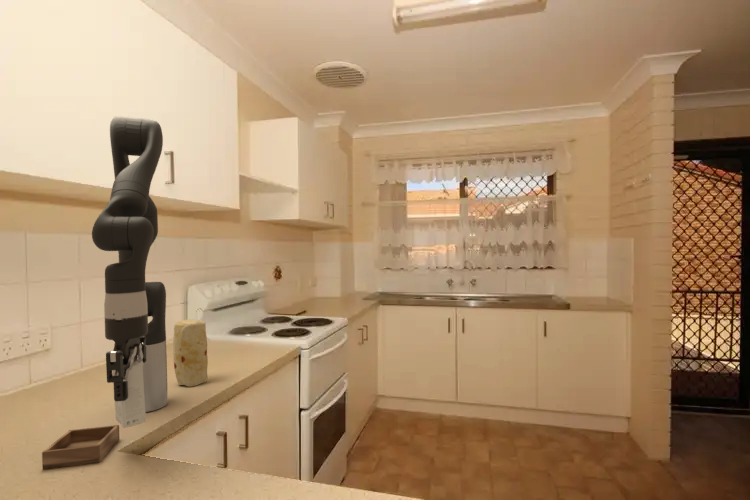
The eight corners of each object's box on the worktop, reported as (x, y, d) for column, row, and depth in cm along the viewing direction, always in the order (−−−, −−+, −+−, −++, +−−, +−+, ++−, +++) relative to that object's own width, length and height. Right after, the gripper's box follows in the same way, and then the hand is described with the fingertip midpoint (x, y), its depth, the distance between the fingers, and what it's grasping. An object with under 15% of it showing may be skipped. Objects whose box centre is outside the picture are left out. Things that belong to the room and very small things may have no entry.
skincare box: (147, 422, 81) (145, 363, 81) (121, 429, 78) (120, 369, 78) (137, 413, 86) (135, 357, 85) (113, 420, 82) (111, 362, 82)
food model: (209, 379, 127) (208, 317, 127) (206, 386, 121) (204, 320, 121) (176, 382, 125) (175, 319, 125) (171, 389, 119) (169, 323, 119)
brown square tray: (69, 445, 85) (69, 430, 85) (119, 439, 87) (119, 424, 87) (42, 469, 76) (42, 452, 76) (98, 462, 78) (98, 445, 78)
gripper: (121, 308, 88) (123, 382, 88) (88, 321, 74) (91, 409, 74) (158, 307, 89) (160, 379, 90) (133, 319, 75) (135, 405, 76)
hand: (128, 393), depth 82 cm, fingers closed on skincare box, 7 cm apart
